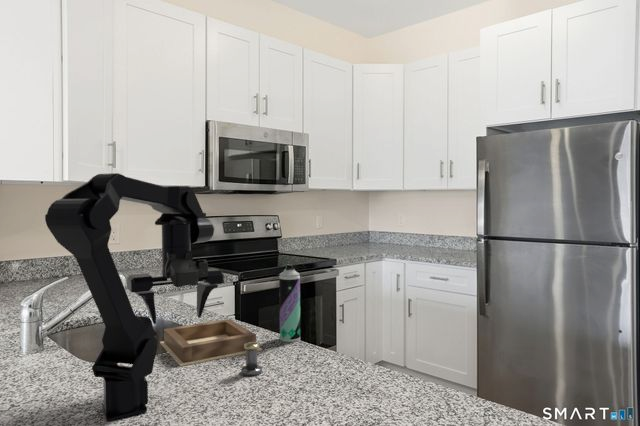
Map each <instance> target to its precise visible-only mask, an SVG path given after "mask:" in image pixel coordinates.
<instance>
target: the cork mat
mask: <svg viewBox="0 0 640 426" xmlns="http://www.w3.org/2000/svg"><path fill="white" fill-rule="evenodd" d="M225 337H229V336H228V335H226V334H224V335H218V336H212V337H206V338H201V339H195V340H189V341H187V342H188V343H189V344H191V343H197V342H202V341H208V340H214V339H220V338H225ZM159 343H160V345H161V346H162V347H163V348H164V349H165V350H166V352H167V353H168V354H169V355H170V356H171V357H172V359H174V361H175V362H176V363H177V364H178V365H179V366H180V367H185V366H189V365H193V364H199V363H203V362H209V361H215V360H219V359H224V358H229V357H234V356H240V355H246V351H242V352H237V353H232V354H226V355H221V356H216V357H211V358H206V359H201V360H196V361H191V362H186V363H183V362H182V361H181V360H180V359H179V358H178V357H177V356H176V355H175V354H174V353H173V351H172V350H171V349H170V348H169V347H168V346H167V345H166V344H165V343H164V340H163V341H159ZM260 351H263V348H261V347H260V346H259V348H257V352H260Z"/></svg>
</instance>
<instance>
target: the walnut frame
mask: <svg viewBox="0 0 640 426" xmlns="http://www.w3.org/2000/svg"><path fill="white" fill-rule="evenodd" d="M224 334H226V335H228V336H229V337H225V338H220V339H214V340H208V341H202V342H197V343H191V344H189V343H188V342H187V341H189V340H195V339H201V338H206V337H212V336H218V335H224ZM163 339H164V340H163V341H164V343H165V344H166V345H167V346H168V347H169V348H170V349H171V350H172V351H173V353H174V354H175V355H176V356H177V357H178V358H179V359H180V360H181V361H182V362H183V363H186V362H191V361H196V360H201V359H206V358H211V357H216V356H221V355H226V354H232V353H237V352H242V351H246V349H244V344H245V343H249V342H256V343H257V334H256V333H254V332H252V331H251V330H249V329H248V328H246V327H244V326H243V325H241V324H239V323H237V322H236V321H234V320H232V319H231V318H228V319H221V320H216V321H215V320H213V321H207V322H202V323H195V324H194V323H193V324H188V325H181V326H175V327H168V328H164V329H163Z"/></svg>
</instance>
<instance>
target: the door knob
mask: <svg viewBox="0 0 640 426" xmlns="http://www.w3.org/2000/svg"><path fill="white" fill-rule="evenodd" d="M259 347H260V343H259V342H257V341H256V342H249V343H245V344H244V349H246V353H245V366H243V367H242V368H241V369H240V370H241V375H243V376H245V377H255V376H259V375H261V374H262V373H263V366H261V365H259V364H258V351H257V348H259Z"/></svg>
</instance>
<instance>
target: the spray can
mask: <svg viewBox="0 0 640 426" xmlns="http://www.w3.org/2000/svg"><path fill="white" fill-rule="evenodd" d="M295 269H296V268H295V267H294V266H293V265H292V264H286V265H285V269H284V270H283V271H282V272H281V273H280V272H279V276H278V281H279V282H278V283H279V284H278V285H279V340H280V342H284V343H296V342H299V341H301V276H300V272H298V271H296V270H295ZM297 340H298V341H297Z"/></svg>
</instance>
